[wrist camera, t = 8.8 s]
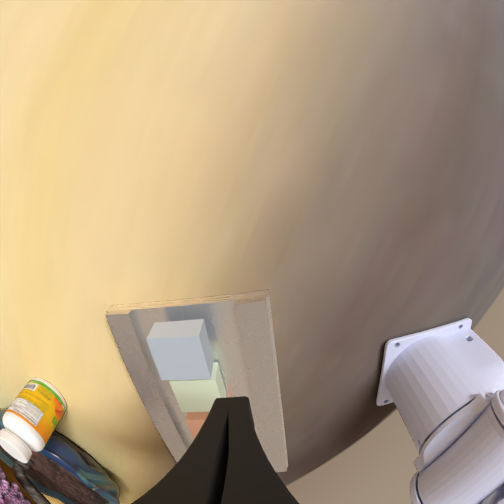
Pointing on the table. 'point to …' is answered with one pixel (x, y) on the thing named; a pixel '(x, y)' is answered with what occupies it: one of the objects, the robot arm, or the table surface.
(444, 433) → the robot arm
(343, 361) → the table surface
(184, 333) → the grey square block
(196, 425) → the key
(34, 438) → the supplement bottle
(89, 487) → the bonsai tree
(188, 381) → the pale green square block
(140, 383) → the base
